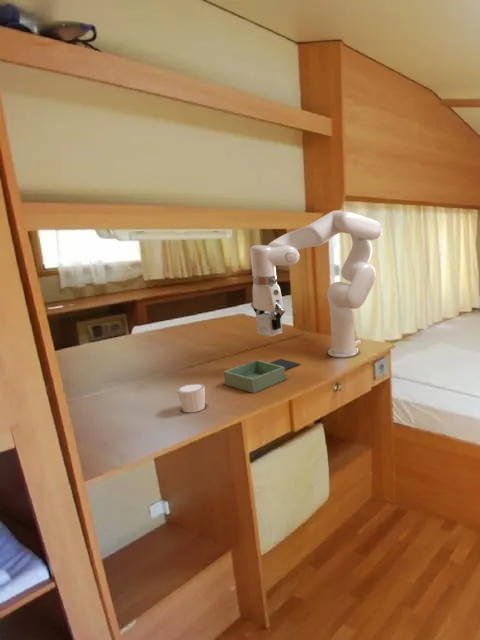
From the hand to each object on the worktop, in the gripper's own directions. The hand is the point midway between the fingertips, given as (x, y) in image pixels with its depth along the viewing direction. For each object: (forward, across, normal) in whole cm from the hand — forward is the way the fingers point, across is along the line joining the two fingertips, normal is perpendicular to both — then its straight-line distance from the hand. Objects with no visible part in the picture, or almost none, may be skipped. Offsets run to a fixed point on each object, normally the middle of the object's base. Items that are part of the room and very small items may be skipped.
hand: (269, 327), depth 159 cm
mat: (+18, +2, -4) cm, 18 cm away
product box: (+3, 0, 0) cm, 3 cm away
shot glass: (+18, -4, +34) cm, 38 cm away
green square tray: (+18, -3, +11) cm, 21 cm away
